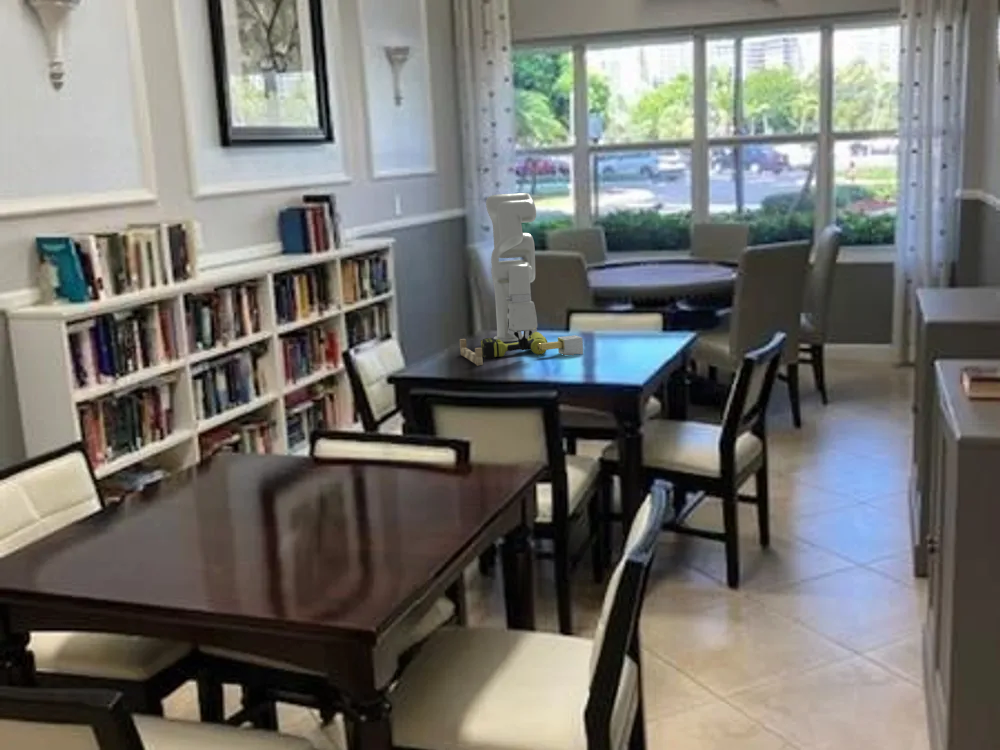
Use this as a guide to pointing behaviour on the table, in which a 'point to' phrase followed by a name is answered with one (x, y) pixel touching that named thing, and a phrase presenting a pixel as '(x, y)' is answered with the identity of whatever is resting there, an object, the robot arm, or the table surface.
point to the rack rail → (471, 353)
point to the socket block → (571, 345)
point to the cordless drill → (510, 346)
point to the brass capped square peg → (549, 345)
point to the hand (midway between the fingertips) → (523, 349)
